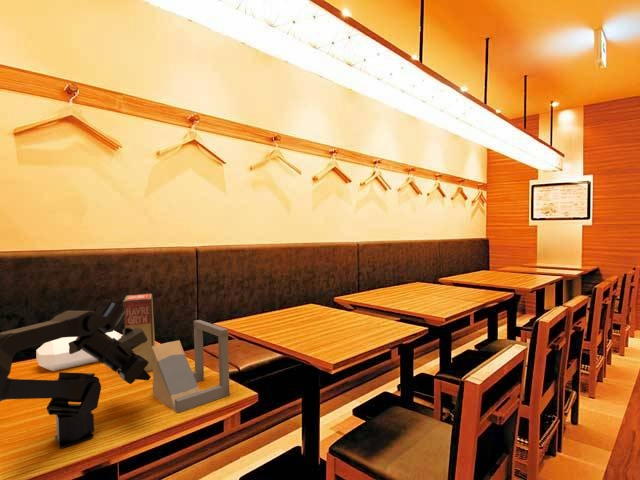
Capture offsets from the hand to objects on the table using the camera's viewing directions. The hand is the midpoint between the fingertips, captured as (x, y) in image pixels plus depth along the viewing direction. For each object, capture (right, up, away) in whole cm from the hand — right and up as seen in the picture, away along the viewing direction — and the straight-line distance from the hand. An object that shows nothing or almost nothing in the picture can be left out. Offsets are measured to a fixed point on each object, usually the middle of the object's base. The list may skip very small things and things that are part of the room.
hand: (149, 378), depth 102 cm
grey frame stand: (+9, -7, +8) cm, 14 cm away
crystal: (-42, -8, +39) cm, 58 cm away
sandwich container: (+6, -8, +4) cm, 11 cm away
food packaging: (-17, -8, +32) cm, 37 cm away
